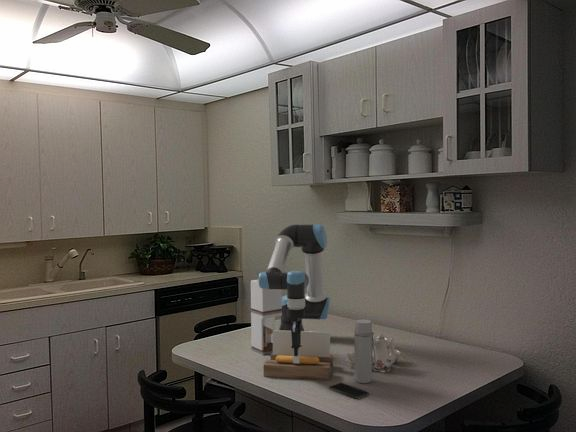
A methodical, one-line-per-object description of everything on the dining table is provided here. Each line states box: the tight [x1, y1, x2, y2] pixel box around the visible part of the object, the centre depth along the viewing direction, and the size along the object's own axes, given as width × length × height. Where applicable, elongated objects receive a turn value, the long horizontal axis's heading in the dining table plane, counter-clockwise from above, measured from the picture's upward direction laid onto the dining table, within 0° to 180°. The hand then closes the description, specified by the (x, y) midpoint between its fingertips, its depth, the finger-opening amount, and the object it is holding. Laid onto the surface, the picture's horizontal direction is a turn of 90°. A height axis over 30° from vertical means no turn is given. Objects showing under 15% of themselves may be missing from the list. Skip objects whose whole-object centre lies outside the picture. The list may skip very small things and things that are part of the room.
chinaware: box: [345, 332, 405, 372], centre depth 230 cm, size 28×17×17 cm, turn 111°
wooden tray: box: [263, 352, 334, 381], centre depth 226 cm, size 18×28×5 cm, turn 79°
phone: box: [328, 382, 370, 400], centre depth 202 cm, size 8×1×15 cm
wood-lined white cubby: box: [250, 279, 283, 356], centre depth 256 cm, size 11×11×35 cm
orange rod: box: [276, 355, 319, 364], centre depth 221 cm, size 3×19×3 cm
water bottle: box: [353, 319, 376, 384], centre depth 213 cm, size 9×8×25 cm
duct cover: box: [272, 329, 331, 357], centre depth 231 cm, size 11×26×1 cm
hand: (296, 362), depth 219 cm, fingers closed
